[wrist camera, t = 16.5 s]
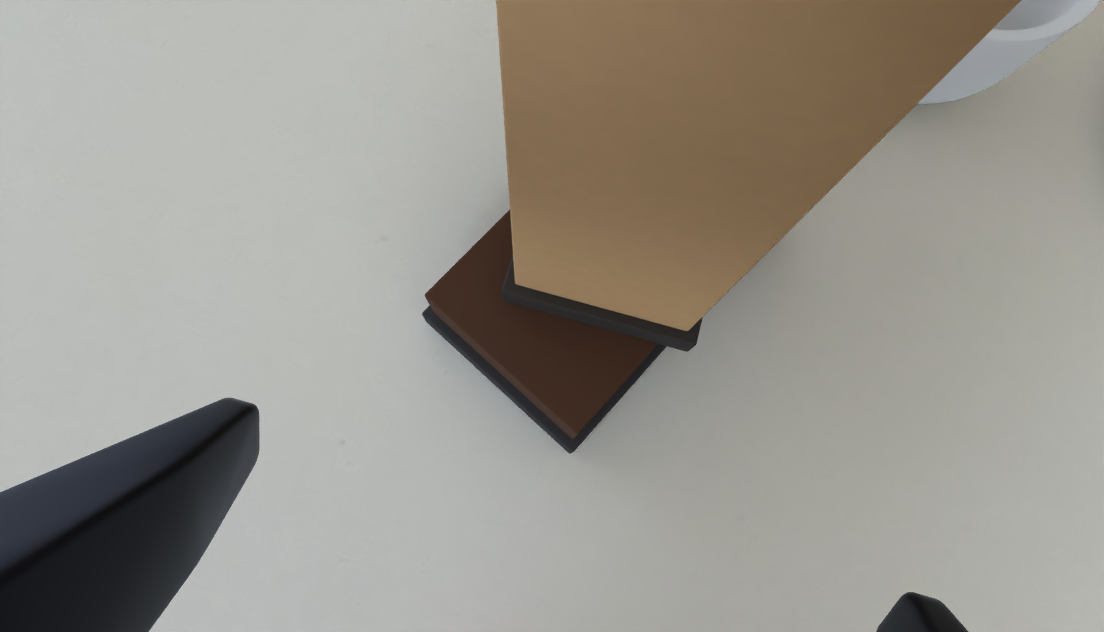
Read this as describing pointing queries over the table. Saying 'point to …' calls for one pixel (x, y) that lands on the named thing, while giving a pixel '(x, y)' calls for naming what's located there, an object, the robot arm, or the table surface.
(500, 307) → the brown slab
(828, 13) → the tan block on base
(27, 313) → the table surface
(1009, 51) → the teacup
